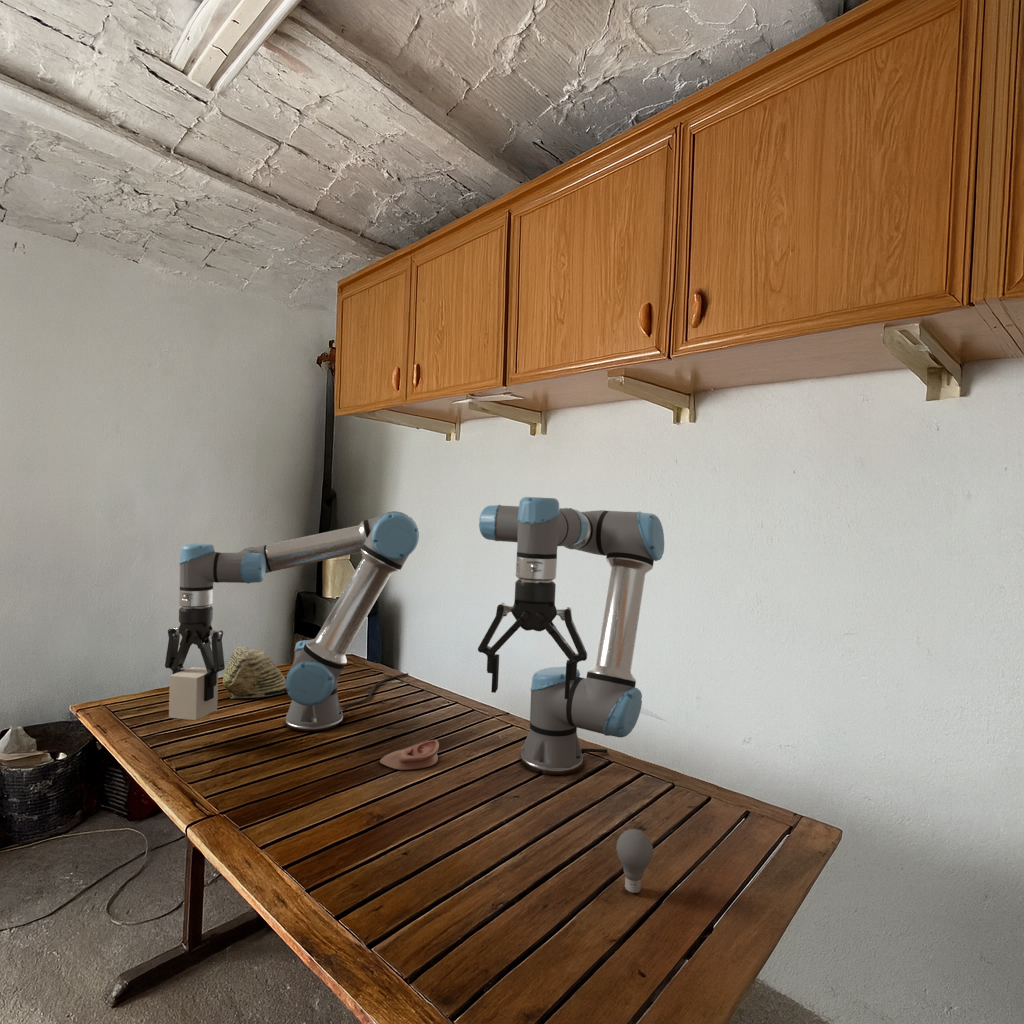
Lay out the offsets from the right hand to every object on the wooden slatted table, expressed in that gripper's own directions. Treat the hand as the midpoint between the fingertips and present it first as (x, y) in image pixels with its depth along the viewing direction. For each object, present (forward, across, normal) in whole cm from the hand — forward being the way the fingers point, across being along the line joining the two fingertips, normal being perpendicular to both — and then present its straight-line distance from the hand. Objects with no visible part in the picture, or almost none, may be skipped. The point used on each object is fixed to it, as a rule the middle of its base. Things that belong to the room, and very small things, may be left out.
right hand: (530, 693), depth 118 cm
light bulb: (+28, +20, -10) cm, 36 cm away
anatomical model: (+28, -32, +31) cm, 53 cm away
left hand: (+17, -87, +27) cm, 92 cm away
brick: (+21, -87, +27) cm, 93 cm away
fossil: (+28, -94, +66) cm, 118 cm away
